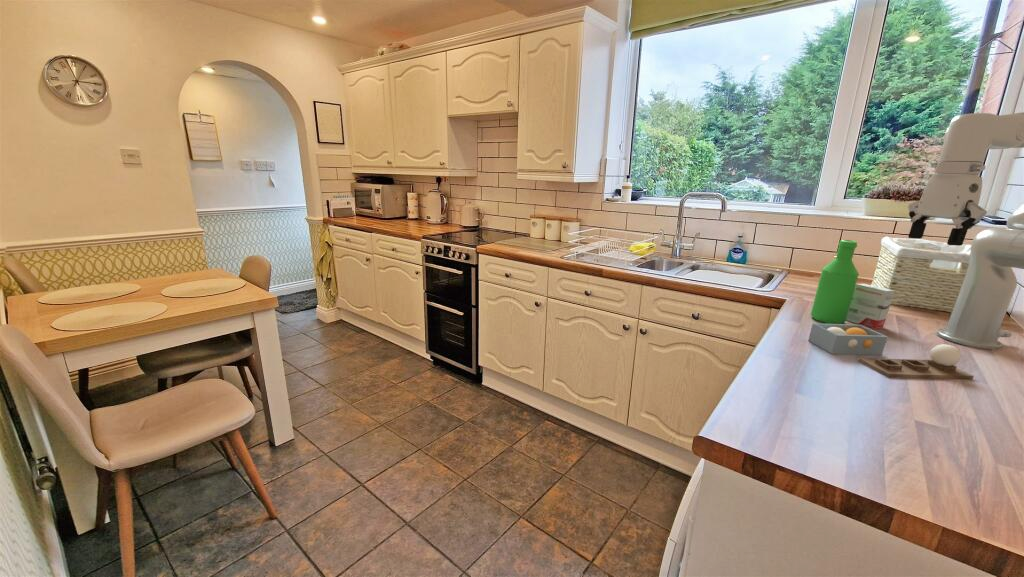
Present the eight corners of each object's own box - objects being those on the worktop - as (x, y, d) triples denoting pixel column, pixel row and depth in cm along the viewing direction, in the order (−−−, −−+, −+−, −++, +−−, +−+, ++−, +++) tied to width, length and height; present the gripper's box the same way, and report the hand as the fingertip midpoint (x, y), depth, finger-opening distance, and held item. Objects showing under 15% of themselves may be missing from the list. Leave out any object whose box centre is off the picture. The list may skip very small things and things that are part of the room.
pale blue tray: (855, 341, 113) (860, 324, 111) (882, 355, 105) (888, 337, 103) (808, 340, 112) (812, 323, 111) (832, 354, 104) (837, 335, 103)
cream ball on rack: (941, 360, 100) (948, 341, 98) (963, 370, 95) (971, 350, 93) (921, 359, 99) (927, 340, 98) (942, 369, 95) (950, 349, 93)
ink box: (883, 327, 125) (895, 289, 122) (875, 329, 123) (887, 291, 119) (851, 317, 132) (862, 282, 129) (843, 319, 130) (853, 283, 127)
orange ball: (854, 342, 111) (859, 324, 110) (870, 349, 106) (875, 331, 105) (836, 342, 111) (840, 324, 109) (851, 349, 106) (856, 331, 105)
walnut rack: (936, 362, 101) (939, 356, 101) (972, 379, 94) (975, 371, 93) (858, 361, 101) (860, 354, 100) (887, 377, 93) (890, 370, 92)
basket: (986, 320, 136) (1011, 255, 130) (881, 304, 148) (899, 244, 142) (954, 299, 158) (974, 243, 152) (865, 287, 171) (880, 235, 165)
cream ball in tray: (834, 341, 111) (839, 324, 109) (849, 349, 106) (854, 331, 104) (816, 341, 110) (820, 323, 109) (830, 349, 106) (835, 331, 104)
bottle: (850, 326, 124) (874, 244, 117) (818, 323, 126) (840, 242, 119) (835, 316, 132) (856, 239, 125) (804, 314, 134) (824, 237, 127)
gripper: (1016, 171, 90) (987, 248, 95) (935, 170, 107) (914, 236, 111) (983, 169, 90) (956, 247, 95) (907, 169, 106) (887, 235, 111)
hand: (933, 241), depth 103 cm, fingers open, 9 cm apart
